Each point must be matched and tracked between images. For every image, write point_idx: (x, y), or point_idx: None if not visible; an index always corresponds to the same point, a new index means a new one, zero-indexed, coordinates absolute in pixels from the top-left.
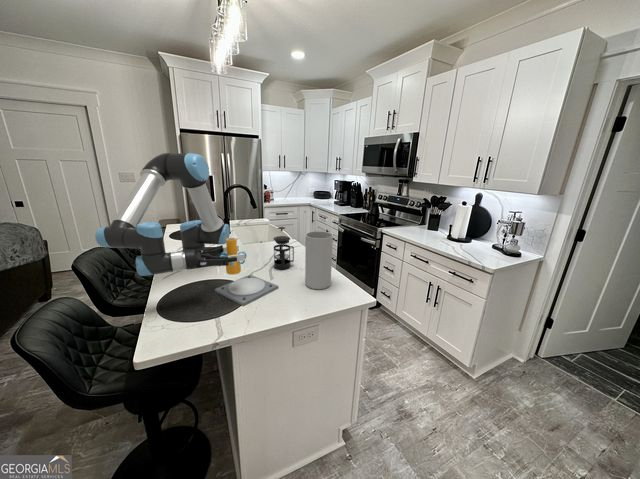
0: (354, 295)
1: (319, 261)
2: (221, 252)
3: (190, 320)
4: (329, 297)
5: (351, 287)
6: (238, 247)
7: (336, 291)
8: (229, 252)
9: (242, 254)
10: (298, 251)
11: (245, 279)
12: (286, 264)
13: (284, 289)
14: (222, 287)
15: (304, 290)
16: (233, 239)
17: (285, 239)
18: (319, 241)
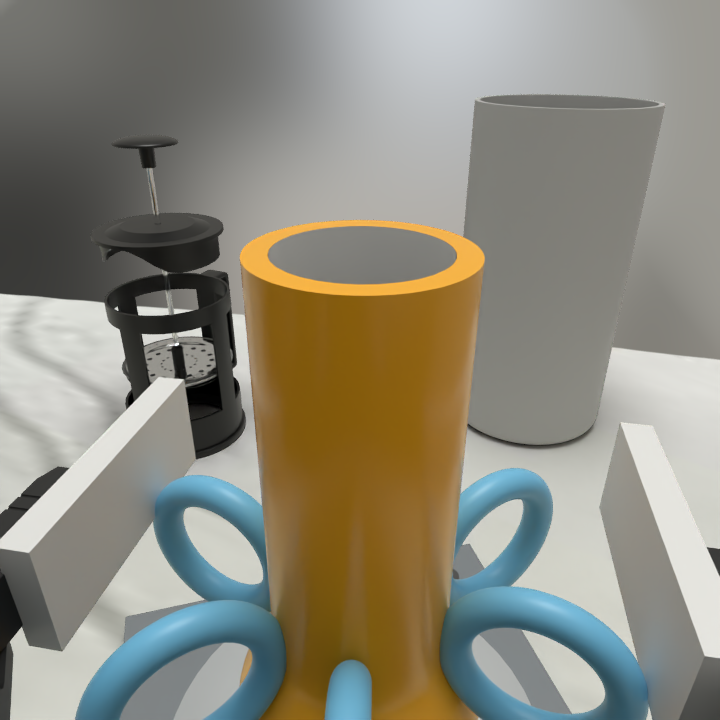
0: (693, 373)
1: (628, 265)
2: (7, 674)
3: None
4: (690, 433)
5: (612, 352)
6: (185, 406)
7: (633, 394)
8: (428, 556)
9: (655, 445)
10: (93, 319)
11: (217, 694)
12: (239, 396)
13: (505, 539)
14: None
15: (568, 472)
16: (312, 263)
17: (205, 225)
18: (657, 127)
